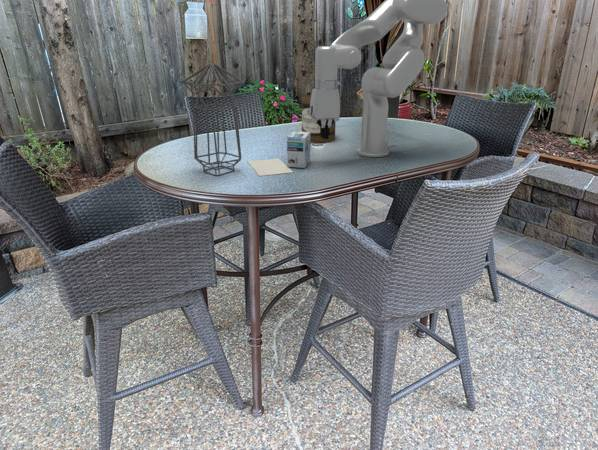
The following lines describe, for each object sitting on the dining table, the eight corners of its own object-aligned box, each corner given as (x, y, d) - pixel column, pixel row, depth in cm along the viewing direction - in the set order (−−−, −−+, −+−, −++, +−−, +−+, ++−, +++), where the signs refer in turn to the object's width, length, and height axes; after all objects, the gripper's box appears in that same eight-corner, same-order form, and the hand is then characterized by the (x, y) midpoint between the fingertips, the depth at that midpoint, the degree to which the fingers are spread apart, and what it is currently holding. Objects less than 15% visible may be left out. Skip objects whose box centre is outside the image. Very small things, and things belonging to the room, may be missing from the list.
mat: (278, 158, 161) (278, 158, 161) (293, 172, 146) (293, 171, 146) (247, 162, 158) (247, 161, 158) (259, 176, 142) (259, 175, 142)
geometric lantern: (187, 171, 148) (176, 63, 134) (225, 163, 158) (218, 62, 145) (213, 181, 138) (204, 65, 124) (252, 171, 148) (247, 63, 134)
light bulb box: (305, 168, 150) (305, 137, 145) (286, 167, 151) (286, 136, 147) (310, 160, 159) (311, 131, 155) (292, 159, 161) (293, 130, 156)
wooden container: (297, 141, 187) (296, 89, 177) (307, 134, 199) (307, 85, 190) (330, 144, 182) (331, 90, 173) (338, 136, 195) (340, 86, 186)
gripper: (341, 83, 152) (339, 134, 160) (301, 84, 148) (301, 137, 156) (350, 85, 146) (347, 138, 154) (309, 87, 142) (308, 142, 149)
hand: (324, 138), depth 155 cm, fingers closed
